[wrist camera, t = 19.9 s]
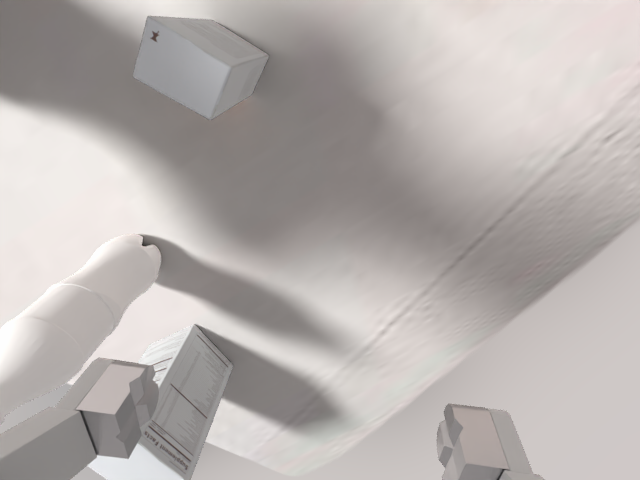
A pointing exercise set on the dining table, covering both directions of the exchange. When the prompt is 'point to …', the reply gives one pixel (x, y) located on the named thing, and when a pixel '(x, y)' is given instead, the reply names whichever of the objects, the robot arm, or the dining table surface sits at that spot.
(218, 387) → the supplement box
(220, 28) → the skincare box
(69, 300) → the water bottle
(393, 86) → the dining table surface
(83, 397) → the robot arm
